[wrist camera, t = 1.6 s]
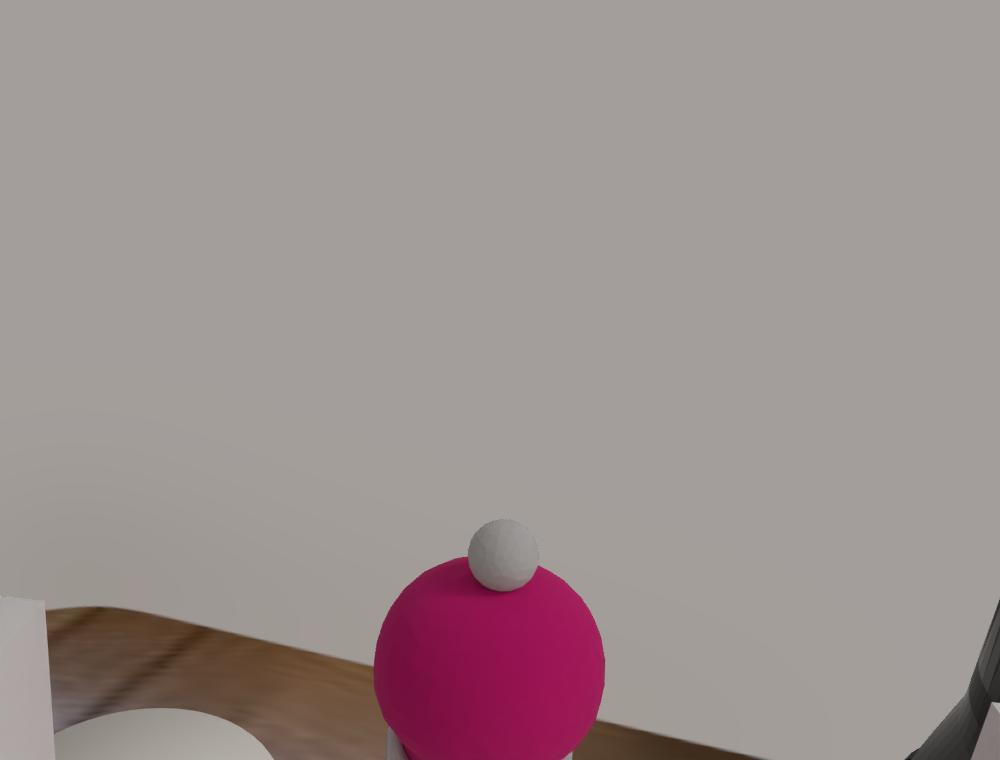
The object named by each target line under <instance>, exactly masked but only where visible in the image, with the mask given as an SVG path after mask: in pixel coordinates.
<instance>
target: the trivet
mask: <svg viewBox="0 0 1000 760" xmlns="http://www.w3.org/2000/svg"><path fill="white" fill-rule="evenodd" d="M54 745H55V760H273V758H272V756H271V755H270V753H269V752H268V751H267V750H266V748H265V747H264V746H263V745H262V744H261V743H260V742H259V741H258V740H257V739H256V738H255V737H254V736H253V735H251V734H250V733H248V732H247V731H245V730H244V729H242V728H241V727H239V726H237V725H235V724H233V723H231V722H229V721H227V720H224V719H222V718H219V717H216V716H214V715H210V714H206V713H202V712H198V711H191V710H184V709H172V708H149V709H137V710H129V711H123V712H118V713H113V714H108V715H104V716H100V717H97V718H93V719H90V720H87V721H84V722H81V723H79V724H76V725H73V726H70V727H68V728H66V729H64V730H62V731H59V732H57V733H55V734H54Z"/></svg>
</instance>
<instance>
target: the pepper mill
mask: <svg viewBox="0 0 1000 760" xmlns="http://www.w3.org/2000/svg"><path fill="white" fill-rule="evenodd" d="M538 562H539V552H538V544H537V542H536V540H535V538H534V536H533V535H532V533H531V532H530V531H529V530H528V529H527V528H526V527H525V526H523V525H522V524H520V523H518V522H515V521H512V520H504V519H500V520H496V521H492V522H489V523H487V524H485V525H484V526H482V527H481V528H480V529H479V530H478V531H477V532H476V533H475V534H474V536H473V538H472V539H471V542H470V546H469V549H468V557H462V558H456V559H453V560H451V561H448V562H445V563H443V564H440V565H438V566H436V567H433V568H431V569H429V570H427V571H425V572H424V573H422V574H421V575H420V576H419V577H418V578H416V579H415V580H414V581H413V582H412V583H410V585H408V586H407V587H406V588H405V589H404V590H403V591H402V593H401V594H400V596H399V597H398V598H397V600H396V601H395V602H394V604H393V605H392V607H391V608H390V610H389V612H388V614H387V616H386V618H385V620H384V622H383V625H382V628H381V631H380V635H379V637H378V640H377V645H376V652H375V659H374V690H375V693H376V696H377V699H378V702H379V705H380V708H381V711H382V714H383V717H384V719H385V721H386V722H387V723H388V725H389V729H388V733H387V755H386V760H572V751H573V750H574V749H575V748H576V747H577V746H578V745H579V744H580V742H581V741H582V740H583V738H584V737H585V735H586V734H587V733H588V731H589V730H590V728H591V727H592V725H593V724H594V722H595V720H596V716H597V713H598V709H599V706H600V703H601V698H602V693H603V689H604V677H605V676H604V675H605V658H604V652H603V646H602V640H601V636H600V633H599V631H598V628H597V625H596V623H595V620H594V618H593V616H592V614H591V612H590V610H589V609H588V607H587V606H586V604H585V603H584V601H583V600H582V598H581V597H580V596H579V595H578V594H577V593H576V592H575V591H574V590H573V589H572V588H571V587H570V586H569V585H568V584H567V583H566V582H565V581H564V580H562V579H561V578H560V577H558V576H556V575H555V574H553V573H551V572H550V571H548V570H546V569H544V568H542V567H540V566H538Z"/></svg>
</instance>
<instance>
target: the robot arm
mask: <svg viewBox="0 0 1000 760" xmlns="http://www.w3.org/2000/svg"><path fill="white" fill-rule="evenodd" d="M0 760H55V745H54V731H53V716H52V701H51V687H50V672H49V657H48V643H47V628H46V613H45V601H44V600H34V599H25V598H16V597H6V596H0ZM905 760H1000V600H999V603H998V606H997V609H996V611H995V614H994V617H993V619H992V622H991V625H990V628H989V630H988V633H987V636H986V639H985V641H984V644H983V647H982V650H981V652H980V656H979V658H978V661H977V664H976V667H975V670H974V673H973V676H972V678H971V682H970V685H969V687H968V690H967V692H966V694H965V696H964V697H963V698H962V699H961V700H960V702H959V703H958V704H957V705H956V706H955V707H954V708H953V710H952V711H951V712H950V713H949V714H948V715H947V716H946V718H945V719H944V720H943V721H942V722H941V723H940V725H939V726H938V727H937V728H936V729H935V730H934V731H933V733H932V734H931V735H930V736H929V737H928V739H927V740H926V741H925V743H924V744H923V745H922V746H921V747H920V748H919V749H917V750H915V751H914V752H912V753H911V754H910V755H909V756H908V757H907V758H906V759H905Z"/></svg>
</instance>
